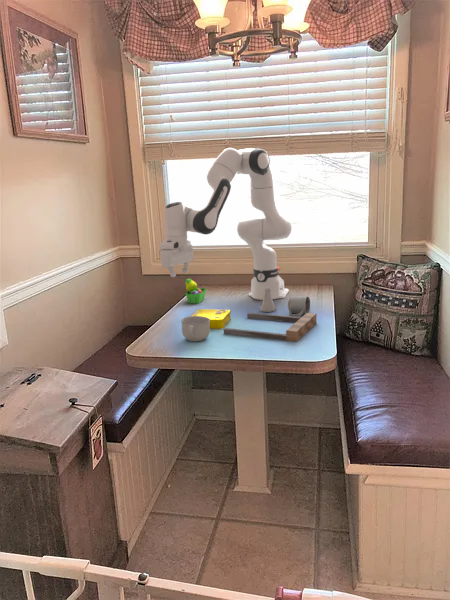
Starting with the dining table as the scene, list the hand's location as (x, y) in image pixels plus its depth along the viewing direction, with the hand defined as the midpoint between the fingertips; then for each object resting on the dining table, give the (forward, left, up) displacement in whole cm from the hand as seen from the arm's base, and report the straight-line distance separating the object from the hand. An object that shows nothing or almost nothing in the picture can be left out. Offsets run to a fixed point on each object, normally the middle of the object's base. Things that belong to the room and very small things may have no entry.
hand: (179, 274), depth 217 cm
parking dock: (0, +41, -20) cm, 46 cm away
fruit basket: (-29, -11, -20) cm, 37 cm away
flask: (-24, +30, -20) cm, 44 cm away
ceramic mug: (-22, +45, -20) cm, 54 cm away
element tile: (+1, +14, -21) cm, 25 cm away
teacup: (+22, +19, -20) cm, 35 cm away
